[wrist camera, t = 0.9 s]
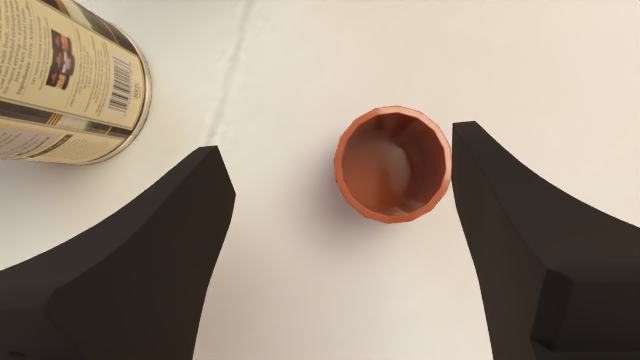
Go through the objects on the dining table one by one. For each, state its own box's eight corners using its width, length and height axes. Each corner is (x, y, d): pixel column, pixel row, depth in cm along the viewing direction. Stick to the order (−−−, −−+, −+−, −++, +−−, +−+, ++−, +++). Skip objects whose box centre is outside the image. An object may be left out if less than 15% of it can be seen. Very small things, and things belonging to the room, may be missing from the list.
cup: (431, 207, 28) (458, 216, 21) (343, 216, 28) (341, 228, 21) (422, 120, 28) (445, 99, 21) (334, 130, 28) (328, 113, 21)
